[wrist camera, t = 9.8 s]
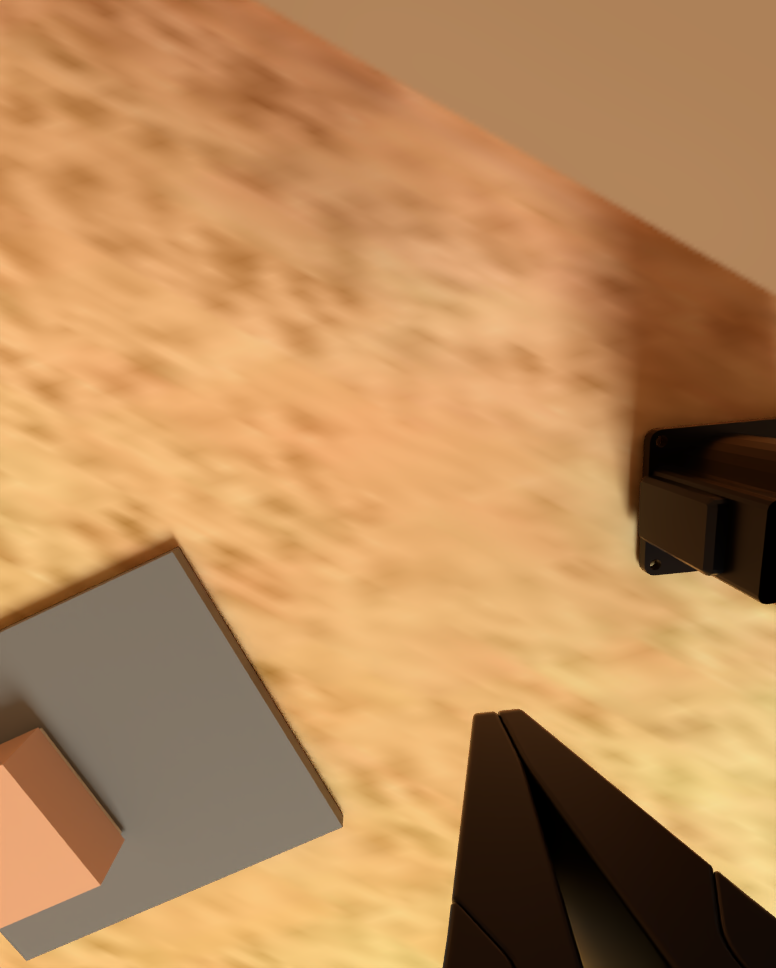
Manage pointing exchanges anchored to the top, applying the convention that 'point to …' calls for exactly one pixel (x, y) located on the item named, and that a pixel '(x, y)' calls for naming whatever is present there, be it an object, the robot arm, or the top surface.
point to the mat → (157, 742)
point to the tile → (48, 829)
